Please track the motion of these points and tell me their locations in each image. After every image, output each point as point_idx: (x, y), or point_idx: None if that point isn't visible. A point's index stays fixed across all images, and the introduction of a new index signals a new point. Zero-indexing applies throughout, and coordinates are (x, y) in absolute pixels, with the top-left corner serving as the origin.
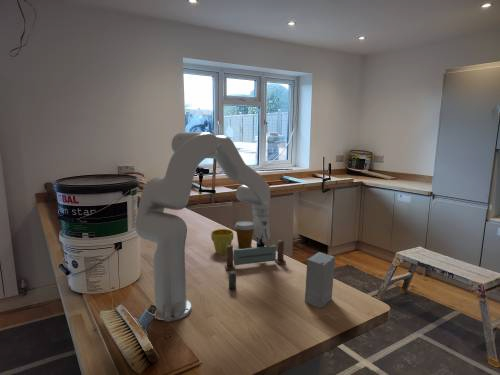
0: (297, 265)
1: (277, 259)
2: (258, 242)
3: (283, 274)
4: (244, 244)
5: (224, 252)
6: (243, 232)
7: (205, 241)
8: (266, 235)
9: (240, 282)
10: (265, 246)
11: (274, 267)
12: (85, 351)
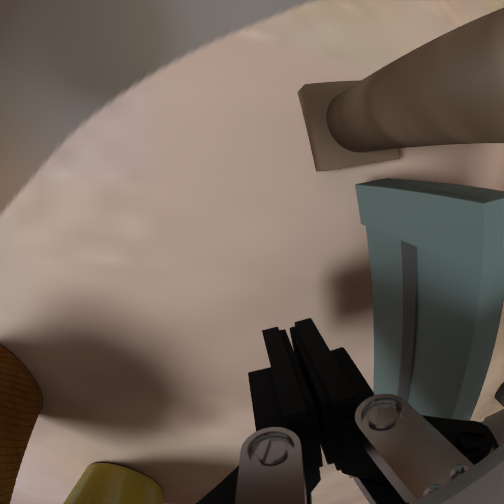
0: (387, 18)
1: (359, 151)
2: (370, 478)
3: (497, 167)
4: (29, 412)
5: (157, 491)
6: (3, 492)
7: (36, 488)
8: (496, 499)
9: (488, 377)
10: (468, 361)
11: None
12: None
